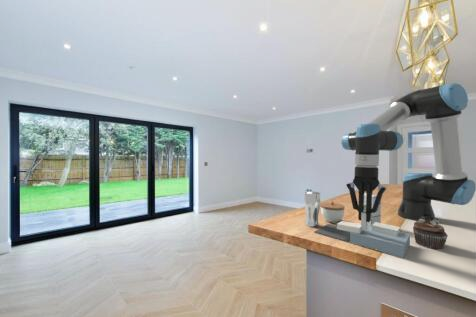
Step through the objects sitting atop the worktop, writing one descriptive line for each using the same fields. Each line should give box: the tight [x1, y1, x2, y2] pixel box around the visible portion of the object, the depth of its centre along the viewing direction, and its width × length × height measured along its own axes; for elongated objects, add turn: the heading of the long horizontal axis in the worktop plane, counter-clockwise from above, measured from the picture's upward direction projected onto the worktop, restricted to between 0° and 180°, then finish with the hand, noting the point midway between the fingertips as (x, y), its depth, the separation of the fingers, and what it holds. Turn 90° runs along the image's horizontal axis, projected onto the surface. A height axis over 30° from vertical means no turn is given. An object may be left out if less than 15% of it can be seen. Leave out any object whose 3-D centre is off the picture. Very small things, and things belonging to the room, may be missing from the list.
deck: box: [349, 225, 411, 259], centre depth 81 cm, size 14×16×4 cm
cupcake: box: [412, 216, 448, 250], centre depth 81 cm, size 10×10×10 cm
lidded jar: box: [320, 201, 346, 224], centre depth 107 cm, size 11×11×9 cm
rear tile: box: [372, 222, 401, 236], centre depth 83 cm, size 6×8×2 cm
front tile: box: [336, 220, 363, 234], centre depth 84 cm, size 6×8×2 cm
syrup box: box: [363, 192, 382, 226], centre depth 101 cm, size 6×6×14 cm
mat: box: [313, 223, 350, 243], centre depth 91 cm, size 14×14×1 cm
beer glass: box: [304, 190, 322, 228], centre depth 100 cm, size 7×7×15 cm
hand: (364, 229), depth 81 cm, fingers closed
